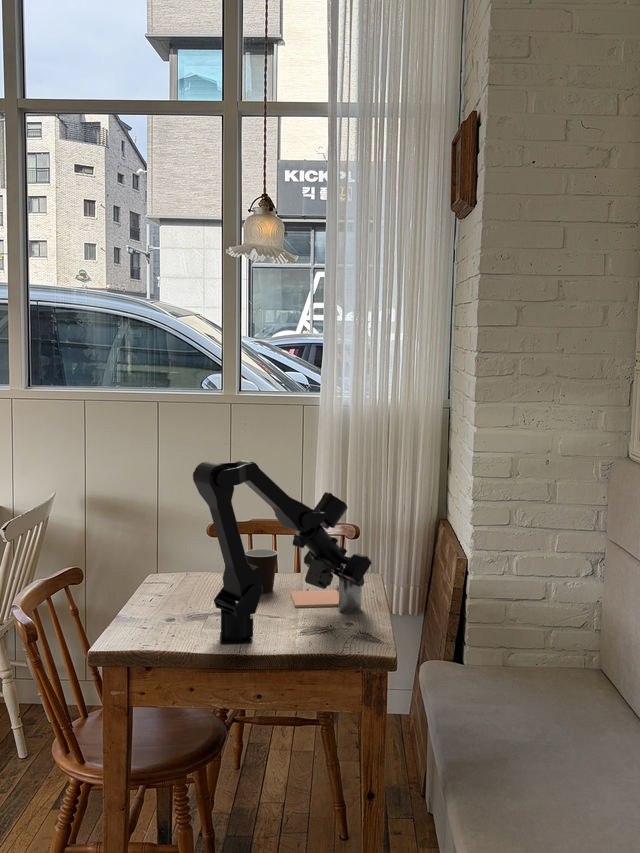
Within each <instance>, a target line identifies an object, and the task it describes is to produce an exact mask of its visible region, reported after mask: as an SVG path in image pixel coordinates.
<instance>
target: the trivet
mask: <svg viewBox="0 0 640 853" xmlns="http://www.w3.org/2000/svg"><path fill="white" fill-rule="evenodd" d="M290 595H291V599H292V604H293V606H294V608H296V609H297V608H323V607H324V608H327V607H339V591H338V589H328V590H326V589H322V590H295V591H294V590H291V591H290Z"/></svg>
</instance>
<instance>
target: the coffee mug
mask: <svg viewBox="0 0 640 853" xmlns="http://www.w3.org/2000/svg"><path fill="white" fill-rule="evenodd" d="M244 551H245V555H246V558H247V562H248V563H249V564H250V565H253V566H256V567H259V569H260V573H261V579H262V581H263V582H264V585H262V589H263V593H262V595H265V594H270V593H272V592H273V591H274V584H275V583H274V582H275V577H276V569H277V568H276V567H277V559H278V551H276V550H273V549H270V548H269V549H268V548H256V549H254V548H253V549H247V550H244Z"/></svg>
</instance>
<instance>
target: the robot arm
mask: <svg viewBox="0 0 640 853" xmlns="http://www.w3.org/2000/svg"><path fill="white" fill-rule="evenodd" d="M192 480H193V483H194V486H195V487H196V489H197V492H198V493H199V495H200V496H201V498H202V499H203V500H204V502H206V504H207V505H208V508H209V512H210V514H211V519H212V521H213V522H212V523H213V526H214V530H215V533H216V537H217V540H218V544H219V547H220V548H219V549H220V552H221V555H222V558H223V562H224V563H223V564H224V571H223V574H222V584H223V586H222V588H221V589H220V591H218V593H217V594H216V596H215V597H214V599H213V604H214V606H215V608H216V609H220V632H219V640H220V641H219V642H220V644H246V643H248V644H249V643H252V638H254V617H253V615H254V614H256V612H257V609H258V607H259V606H258V605H259V602H260V598H261V597H262V595H263V594H262V593H263V589H262V585H264V582H263V581H262V579H261V573H260V569H259V567H256V566H253V565H250V564H249V563H248V562H247V558H246V555H245V551H246V550H245V548H244V547H245V546H244V544H243V540H242V537H241V532H240V530H239V526H238V521H237V518H236V514H235V510H234V507H233V506H234V505H233V503H232V500H233V495H234V492H235V486H238V485H241V484H245V485H247V486H248V487H249V488H250V489H251V490H252V491H253V492H254V493H255V494H256V495H258V496H259V497H260V498H261V499H262V500H263V501H264V502H265V503H266V504H267V505H269V506H270V508H272V510H273V511H274V515H275V517H276V518H277V520H278V522H279V523H280V524H281V526H282V527H284V528H285V529H289V530H294V531H296V532H297V534H293V539H292V546H294V547H297V548H301V549H304V548H305V547H306V548H307V549H308V551H307V553H306V554H305V556H304V557H303V558H304V559H303V564H304V565H305V566H306V567H307V568H308V569H307V572H306V575H305V578H304V581H305V583H306V584H308V585H311V586H314V587H316V588H320V589H322V590H326V589H327V588H328V587H330V586H331V584H332V582H333V578H334V575H336V576H337V577H339V573H338V570H339V569H342V568H344V567H345V568H344V569H343V575H344V577H343V579H346V580H349V581H354V582H356V583H357V584H359V585H360V586H362V587H363V586H364V585H365V578H364V577H365V575H366V573H367V572H368V570H369V568H370V566H371V565H372V560H371V559H370V558H369V557H368V556H367V555H365V554H361V553H353V554H352V556H350V557H349V556H347V555H346V554H347V552H348V550H347V549H346V548H344V547H341V546H340V545H339V544H338V541H339V539H338V538H336V537H333V536H331V535H330V534H329V533H328V532H327V531H326V530H325V529H327V530H329V528H333V529H334V528H335V527H336V526H337V525H338V524H339V522H340V520H341V519H342V517H343V516H344V514H345V513H346V511H347V510H348V505H347V504H346V502H344V501H342V500H341V499H340V498H338V497H337V496H335V495H333V493H332V492H328V491H327V492H325V491H324V493H323V495H322V497H321V498H320V500H319V501H318V503H317V504H316V506H315V507H314V508H311V507H310V506H307V505H306V504H304V503H303V502H301V501H299V500H296V499H294V498H293V497H291V496H289V494H287V493H286V492H285V491H284V490H283V489H282V488H281V487H280V486H279V485H277V484H276V483H275V481H273V479H271V478H270V477H269V476H268V475H267V474H266V473H265V472H264V471H263V470H262V469H261V468H260V467H259V465H258V464H257V463H256V462H254V461H248V460H243V459H241V460H238V461H232V462H231V461H230V462H220V463H219V462H218V463H217V462H216V463H215V462H210V461H203V462H200V463H199V464H198V465H197V466H196V467H195V469H194V471H193V473H192ZM345 555H346V556H345Z"/></svg>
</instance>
